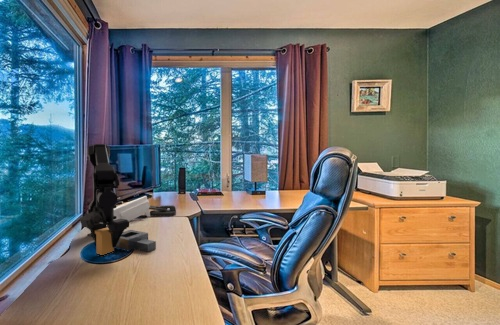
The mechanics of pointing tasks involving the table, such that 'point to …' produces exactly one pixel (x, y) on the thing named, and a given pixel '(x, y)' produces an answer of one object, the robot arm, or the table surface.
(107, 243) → the tan stepped block
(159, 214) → the black stapler
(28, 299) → the table surface
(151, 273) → the table surface
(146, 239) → the ring lock bracket
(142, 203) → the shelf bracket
